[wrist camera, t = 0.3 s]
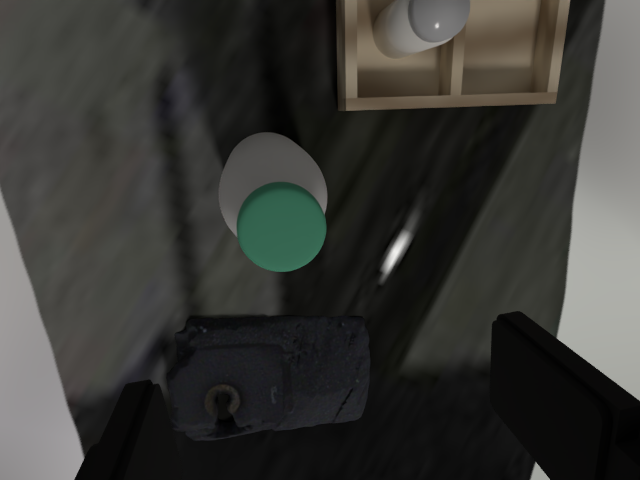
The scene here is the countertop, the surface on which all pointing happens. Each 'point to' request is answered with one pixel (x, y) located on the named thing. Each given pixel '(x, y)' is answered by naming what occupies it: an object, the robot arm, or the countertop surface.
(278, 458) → the countertop surface
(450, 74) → the caddy
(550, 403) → the robot arm
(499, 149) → the countertop surface
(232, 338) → the dark slate chunk
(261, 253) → the milk bottle
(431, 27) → the shaker
